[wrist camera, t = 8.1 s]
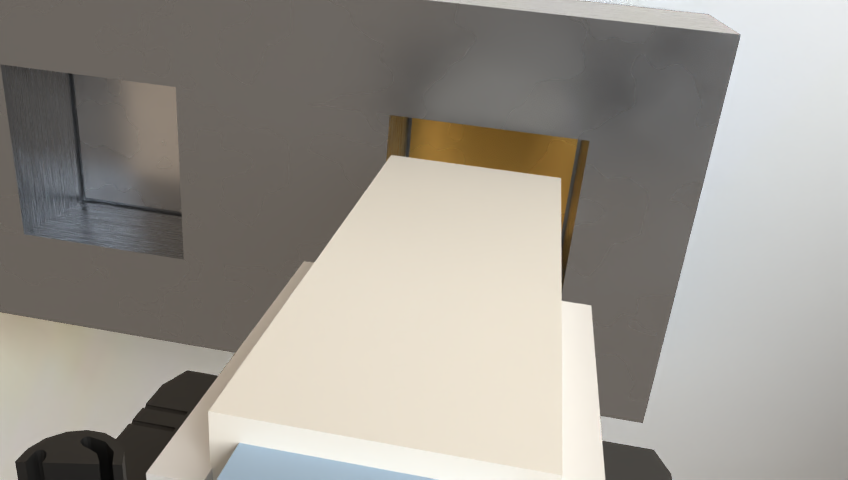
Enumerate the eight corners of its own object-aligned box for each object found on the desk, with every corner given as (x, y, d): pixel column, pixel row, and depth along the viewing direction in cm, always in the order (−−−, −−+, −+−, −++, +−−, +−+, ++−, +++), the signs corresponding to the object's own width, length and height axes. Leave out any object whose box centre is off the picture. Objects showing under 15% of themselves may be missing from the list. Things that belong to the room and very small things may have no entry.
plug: (561, 178, 19) (562, 524, 8) (535, 328, 21) (508, 777, 10) (391, 155, 20) (178, 452, 9) (380, 303, 21) (192, 704, 10)
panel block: (708, 14, 23) (740, 34, 19) (630, 348, 28) (642, 423, 24) (-10, -64, 26) (-117, -61, 22) (33, 252, 31) (-48, 303, 27)
